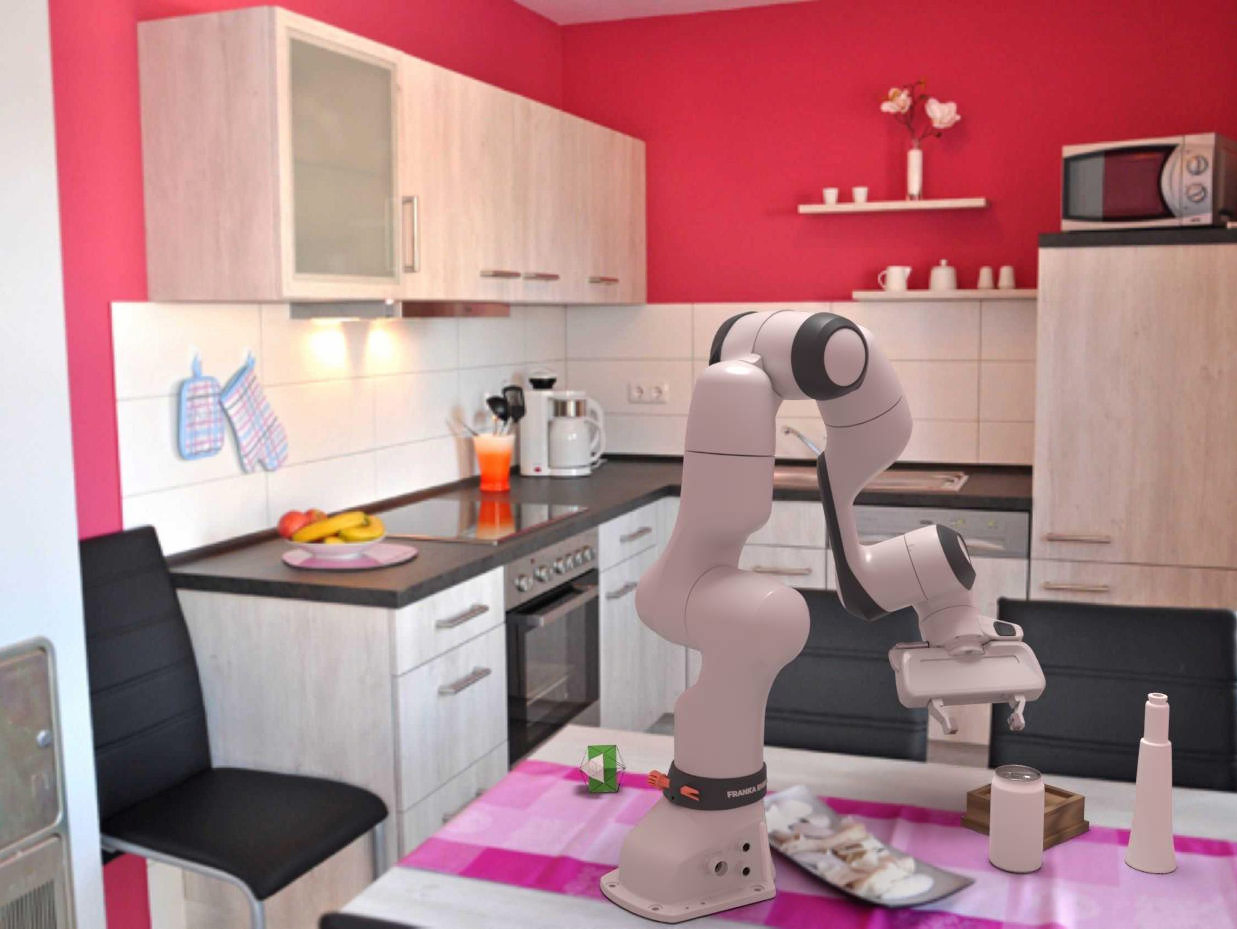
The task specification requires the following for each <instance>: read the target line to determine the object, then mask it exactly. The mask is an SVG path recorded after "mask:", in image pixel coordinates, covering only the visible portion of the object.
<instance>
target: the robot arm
mask: <svg viewBox="0 0 1237 929" xmlns="http://www.w3.org/2000/svg"><path fill="white" fill-rule="evenodd" d="M709 352H710V353H709V359H708V366H707V367H705V368H704V369H703V370H702V371H701V372H700V374H698V376H697V379H696V382H695V384H694V388H693V391H692V395H691V399H690V404H689V410H688V415H687V421H686V429H685V434H684V435H685V437H684V451H683V465H682V474H681V475H682V477H681V487H680V497H679V498H680V499H679V506H678V512H677V516H676V520H675V523H674V527H673V530H672V532H671V535H670V538H669V539H668V542H667V544H666V546H665V549H664V550H663V552H662V553H661V555H659V556H660V557H658V559H656V561H655V562H653V563H652V564H650V565H649V566H648V567H647V568H646V569H645V570H644V571H643V573H642V574H641V576H640V578H639V580H638V582H637V585H636V589H635V596H634V604H635V610H636V613H637V616H638V618H639V620H640V622H641V623H642V624H643V625H644V627H647V629H649V630H650V631H652V632H654V633H655V634H656V635H658V636H659V637H661V638H662V639H664V640H665V641H667V642H669V643H672V644H675V645H679V646H681V647H684V648H688V649H691V650H694V651H697V652H700V653H699V654H700V655H701V657H700V658H701V666H700V671H699V673H698V674H699V675H698V676H697V680H696V682H695V684H692V685H691V686H690V687H688V688H687V689H685V690H684V691H683V692H681V693H680V695H679V696H678V697H677V699H676V701H675V702H674V703H675V704H674V706H673V712H674V713H673V715H674V716H673V717H674V718H673V722H674V725H673V727H674V728H673V744H674V745H673V759H672V760H671V763H670V766H669V769H668V772H667V774H666V773H662V772H660V771H658V770H656V769H653V770H651V771H650V772H649V773H648V775H647V779H646V781H647V784H648V785H649V787H652V788H656V789H657V790H659V791H662V796H660V798H659V799H658V800H657V801H656V802H655V804H654V805H653V806H652V807H651V808H650V809H649V811H647V812H646V814H644V816H643V817H642V818H641V819H640V821H638V822H637V824H636V825H635V826H634V827H633V828H632V829H631V830H630V831H629V832H628V833H627V834H626V835H625V837H624V839H623V842H622V846H621V849H620V853H619V854H620V856H619V864H618V865H619V866H618V867H617V868H616V869H614V870H611V871H610V872H607V873H606V874H604V875H602V876H601V877H600V883H599V887H600V889H601V891H602V893H603V894H604V895H605V896H606V897H607V898H608V899H610V900H611V901H612V902H613V903H615V904H616V905H618V906H620V907H622V908H624V909H626V910H627V911H629V912H631V913H634V914H636V915H639V916H642V917H644V918H647V919H651V920H653V921H654V920H655V921H659V922H664V923H673V924H674V923H678V922H683V921H687V920H691V919H694V918H698V917H699V918H700V917H703V916H706V915H710V914H714V913H718V912H723V911H725V910H729V909H734V908H737V907H741V906H742V907H743V906H746V905H749V904H753V903H757V902H760V901H764V900H769V899H772V898H774V897H776V895H777V892H776V891H777V890H776V885H775V882H774V881H775V879H776V876H777V872H776V868H775V865H774V862H773V858H772V855H771V854H772V853H771V849H770V842H769V841H770V840H769V832H768V823H767V817H766V811H765V810H766V808H765V797H766V795H767V792H768V782H769V781H768V780H769V779H768V776H767V775H768V774H767V772H768V770H767V764H766V762H765V761H764V747H765V746H764V745H765V744H764V743H765V742H764V740H765V718H766V708H767V702H768V698H769V694H770V691H771V689H772V686H773V684H774V681H775V679H776V678H777V676H778V674H779V672H780V671H781V670H782V669H783V668H784V667H785V666H786V665H788V664H789V663H791V662H793V661H794V659H796V657H797V656H799V654H800V653H801V652H802V650H803V649H804V647H805V645H806V643H807V640H808V637H809V634H810V628H811V617H810V616H811V615H810V611H809V610H810V609H809V606H808V604H807V601H806V599H805V598H804V596H803V595H802V594H801V593H800V592H799V591H797V589H795V588H793V587H791V586H790V585H789V584H788V585H787V584H786V583H784V582H782V581H780V580H779V579H776V578H775V577H773V576H771V575H767V574H764V573H760V572H754V571H750V570H745V569H741V568H739V562H740V558H741V556H742V555H741V554H742V552H743V549H744V546H745V544H746V542H747V540H748V538H749V537H751V535H752V534H754V533H756V532H758V531H759V530H760V529H762V528H763V527H765V525H767V523H768V521H769V519H770V518H771V514H772V506H773V495H774V494H773V492H774V480H775V478H774V477H775V462H776V456H775V455H776V449H777V448H776V445H777V444H776V443H777V427H776V426H777V425H776V423H777V422H776V417H777V414H778V412H779V409H780V406H781V405H782V403H783V402H784V401H804V400H805V401H807V400H815V402H816V406H817V408H818V412H819V414H820V416H821V418H822V421H823V423H824V424H823V425H824V427H825V432H826V443H825V447H824V450H823V451H822V452H821V453H820V454H819V455H818V456H817V458H816V478H817V483H818V489H819V494H820V500H821V505H822V510H823V514H824V519H825V524H826V527H827V534H828V538H829V543H830V548H831V552H832V556H833V557H832V558H833V561H834V581H835V588H836V592H837V595H838V598H839V601H840V603H841V604H842V606H843V608H844V609H845V610H846V613H849V614H850V615H852V616H855V617H856V618H859V619H862V620H864V621H868V622H873V621H876V620H878V619H880V618H883V617H885V616H888V615H890V614H892V613H893V612H895V611H898V610H902V609H905V608H908V607H910V606H912V607H913V609H914V611H915V612H916V613H917V616H918V629H919V632H920V635H921V639H922V641H914V642H908V643H907V642H900V643H899V642H898V643H896V644H895V645H894V646H892V647H891V648H890V649H889V651H888V654H887V655H888V659H889V663H890V666H891V668H892V670H893V671H894V674H895V675H894V676H895V677H894V678H895V685H896V692H897V696H898V701H899V702H900V704H902V705H903V707H905V708H906V709H914V708H917V709H918V708H927V709H928V713H929V715H930V716H932V718H933V719H934V720H936V722H938V723H939V724H940V725H941V729H942V732H943V735H945V736H947V735H949V736H950V735H956V734H957V732H958V731H959V726H958V724H957V719H956V716H951V717H950V716H949V715H948V714H947V713H946V711H944V709H943V707H949V706H953V707H954V706H965V705H983V704H984V705H985V704H986V705H987V704H1000V703H1003V704H1004V703H1008V704H1009V707H1010V709H1014V712H1013V713H1011V714H1010V715H1009V716H1008V718H1007V720H1006V722H1008V723H1007V724H1008V725H1009V729H1010V731H1022V730H1023V729H1024V728H1025V726H1026V722H1025V719H1024V716H1023V712H1024V709H1025V705H1026V702H1035V701H1036V700H1038V699H1039V697H1040V696H1042V693H1043V692H1044V690H1045V688H1046V685H1047V683H1046V682H1047V681H1046V677H1045V675H1044V672H1043V670H1042V668H1041V665H1040V663H1039V660H1038V659H1037V657H1036V654H1035V652H1034V651H1033V649H1032V648H1031V646H1029V645H1028V644H1027V643H1026V642H1023V637H1024V630H1023V628H1022V627H1021V626H1020V625H1019V624H1016V623H1013V622H1008V621H1004V620H999V619H996V618H993V617H988V616H987V615H983V614H982V611H981V610H980V608H979V606H978V605H977V603H976V602H975V600H974V589H973V586H974V584H975V580H976V577H977V573H976V571H975V569H974V566H973V564H972V562H971V559H970V558H971V557H970V554H969V550H968V547H967V544H966V542H965V539H964V538H963V536H962V535H961V533H960V532H958V531H956V530H954V529H952V528H950V527H949V526H946V525H943V524H940V523H936V524H930V525H927V526H924V527H921V528H920V527H919V528H918V529H914V530H912V531H908V532H906V533H904V534H901V535H899V536H896V537H895V536H894V537H891V538H889V539H886V540H883V541H880V542H876V543H875V544H872V545H863V544H861V543H860V540H859V535H858V530H857V526H856V525H857V524H856V520H855V515H854V510H853V504H854V501H855V499H856V497H857V496H858V495H859V493H860V492H861V491H862V490H863V489H865V488H864V487H866V486H867V485H868V484H869V483H870V482H871V481H873V480H874V479H875V478H877V477H878V476H879V475H881V473H883V472H884V471H886V470H887V469H888V468H890V466H892V465H893V464H894V463H895V461H897V460H898V458H900V456H901V455H902V454H903V452H904V451H905V449H906V448H907V446H908V443H910V438H911V436H912V432H913V417H912V414H911V410H910V406H909V402H908V399H907V397H906V394H905V391H904V388H903V386H902V383H901V382H900V379H899V377H898V374H897V372H896V370H895V368H894V366H893V364H892V363H891V360H890V359H889V357H888V355H887V353H886V352H885V350H884V348H883V347H882V345H881V343H880V342H879V340H878V339H877V338H876V336H875V334H874V333H873V332H871V330H870V329H869V328H866V327H865V326H863V325H860V324H856V323H855V322H853V321H852V320H851V319H849V318H847V317H844V316H842V315H840V314H836V313H833V312H827V311H822V312H811V311H799V310H794V309H789V308H787V309H786V308H785V309H784V308H783V309H773V310H765V311H764V310H763V311H755V310H754V311H745V312H741V313H739V314H736V315H734V316H731V317H730V318H728V319H726V320H725V321H724V322H723V323H722V324H721V325H720V326H719V328H718V329H717V331H716V332H715V335H714V337H713V340H712V343H711V346H710V351H709Z"/></svg>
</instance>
